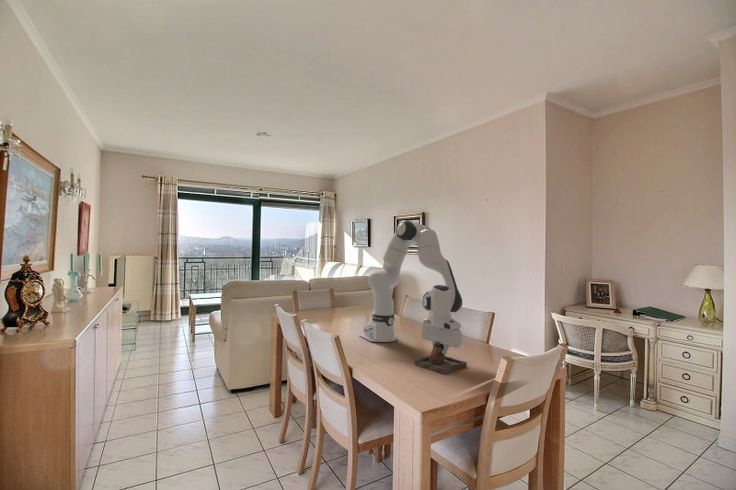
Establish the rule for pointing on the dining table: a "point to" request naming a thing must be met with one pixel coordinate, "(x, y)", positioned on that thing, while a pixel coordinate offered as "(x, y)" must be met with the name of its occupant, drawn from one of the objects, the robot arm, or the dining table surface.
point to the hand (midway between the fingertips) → (440, 353)
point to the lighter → (437, 353)
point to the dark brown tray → (441, 364)
